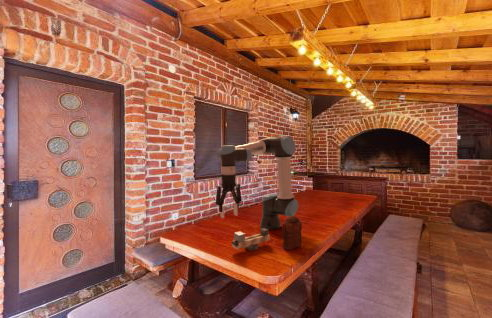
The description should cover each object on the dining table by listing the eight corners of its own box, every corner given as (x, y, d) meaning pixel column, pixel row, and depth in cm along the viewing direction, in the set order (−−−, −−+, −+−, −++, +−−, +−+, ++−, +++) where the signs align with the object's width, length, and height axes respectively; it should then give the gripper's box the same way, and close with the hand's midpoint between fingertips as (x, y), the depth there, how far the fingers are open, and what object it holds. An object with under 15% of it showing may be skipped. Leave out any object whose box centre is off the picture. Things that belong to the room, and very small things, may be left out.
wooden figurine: (295, 243, 152) (295, 213, 151) (302, 246, 147) (302, 216, 146) (280, 247, 146) (280, 216, 145) (287, 251, 141) (287, 219, 140)
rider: (239, 244, 137) (238, 235, 137) (234, 241, 142) (234, 232, 141) (245, 243, 140) (245, 233, 139) (240, 240, 144) (240, 231, 143)
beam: (237, 255, 136) (237, 238, 136) (231, 251, 141) (231, 235, 141) (270, 245, 149) (270, 230, 149) (264, 242, 154) (263, 227, 154)
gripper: (214, 176, 126) (215, 221, 127) (248, 173, 137) (248, 214, 139) (207, 174, 132) (208, 217, 133) (240, 172, 144) (241, 211, 145)
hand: (229, 216), depth 136 cm, fingers open, 8 cm apart
